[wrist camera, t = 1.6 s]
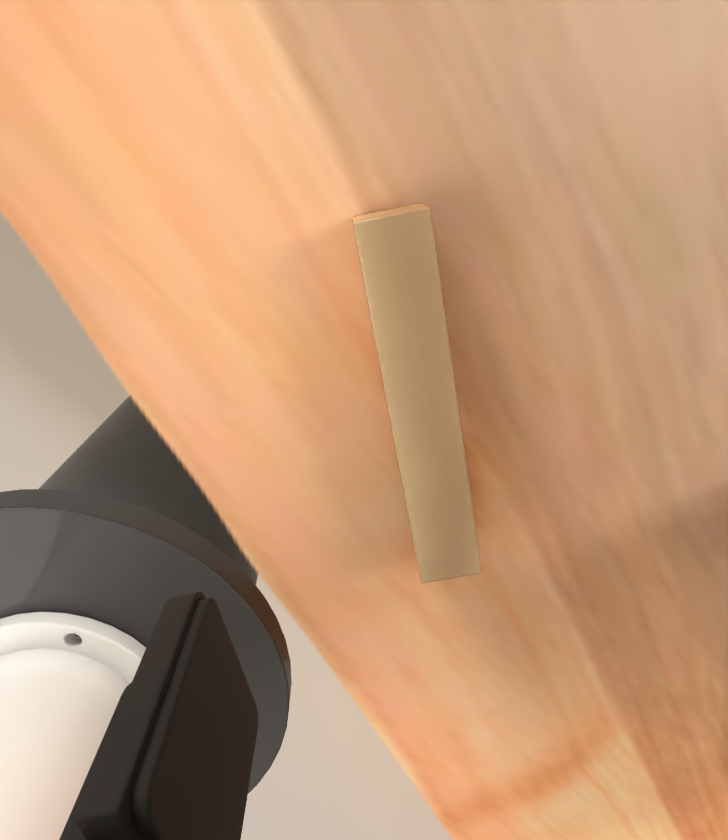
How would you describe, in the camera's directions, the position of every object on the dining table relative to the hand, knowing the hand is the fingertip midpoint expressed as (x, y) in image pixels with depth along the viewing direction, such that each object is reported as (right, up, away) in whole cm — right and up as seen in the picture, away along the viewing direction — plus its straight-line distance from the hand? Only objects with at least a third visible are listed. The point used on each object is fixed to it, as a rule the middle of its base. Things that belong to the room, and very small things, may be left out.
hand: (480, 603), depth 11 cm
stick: (0, +4, +16) cm, 17 cm away
